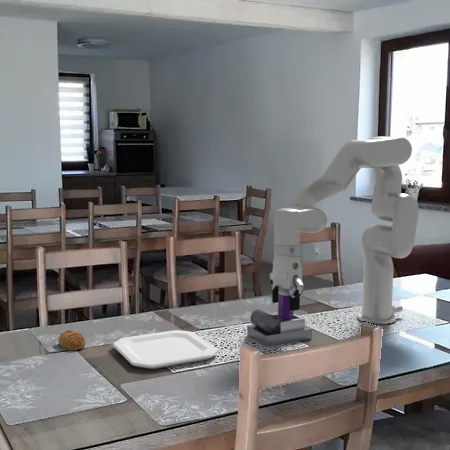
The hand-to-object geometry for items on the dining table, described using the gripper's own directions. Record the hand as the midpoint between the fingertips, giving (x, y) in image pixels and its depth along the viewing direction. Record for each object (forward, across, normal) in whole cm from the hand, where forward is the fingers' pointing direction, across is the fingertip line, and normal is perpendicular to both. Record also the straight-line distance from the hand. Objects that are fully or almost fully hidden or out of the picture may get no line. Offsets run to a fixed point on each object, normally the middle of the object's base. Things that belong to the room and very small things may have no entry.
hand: (285, 306), depth 185 cm
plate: (+10, +2, +38) cm, 39 cm away
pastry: (+10, +19, +60) cm, 63 cm away
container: (+6, 0, 0) cm, 7 cm away
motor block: (+9, 0, +2) cm, 10 cm away
